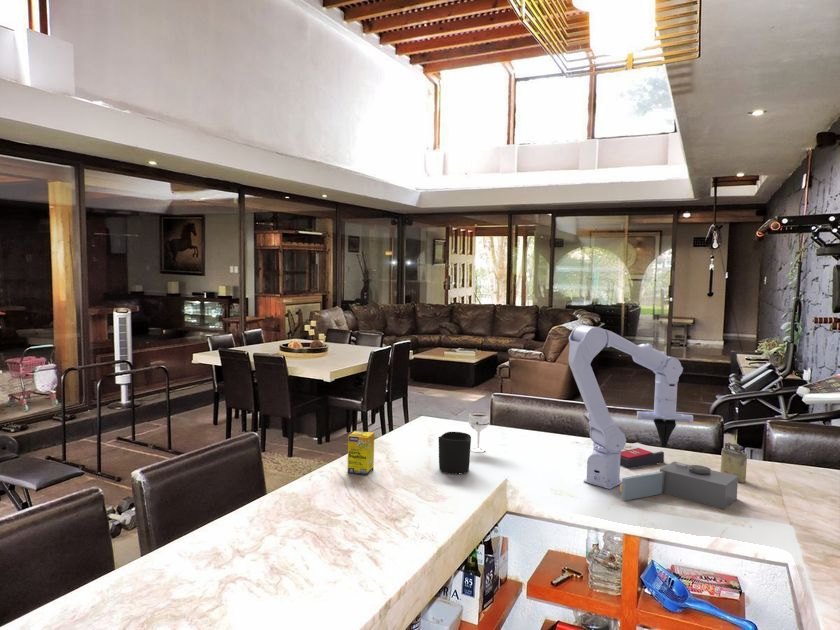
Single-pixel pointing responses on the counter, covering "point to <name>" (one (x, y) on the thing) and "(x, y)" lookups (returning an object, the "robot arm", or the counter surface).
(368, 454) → the supplement box
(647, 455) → the calculator
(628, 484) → the side door
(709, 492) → the camera case
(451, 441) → the pen holder
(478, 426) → the wineglass
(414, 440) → the counter surface
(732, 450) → the lighter
